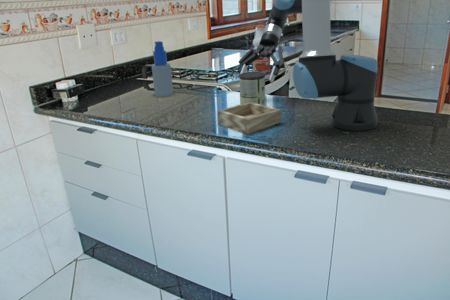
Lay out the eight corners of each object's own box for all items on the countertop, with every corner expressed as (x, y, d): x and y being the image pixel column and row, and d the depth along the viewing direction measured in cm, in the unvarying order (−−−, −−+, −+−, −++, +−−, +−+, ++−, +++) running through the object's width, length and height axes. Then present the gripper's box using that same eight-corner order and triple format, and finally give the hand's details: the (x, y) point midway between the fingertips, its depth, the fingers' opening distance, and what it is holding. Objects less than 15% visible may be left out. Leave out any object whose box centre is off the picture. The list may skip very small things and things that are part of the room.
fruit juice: (266, 76, 213) (265, 24, 203) (272, 79, 205) (273, 25, 194) (250, 77, 211) (249, 25, 200) (256, 80, 202) (256, 26, 192)
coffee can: (240, 105, 158) (239, 72, 153) (265, 105, 157) (265, 71, 152) (239, 112, 149) (238, 77, 143) (265, 112, 148) (265, 76, 142)
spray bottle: (157, 97, 178) (151, 43, 168) (152, 93, 186) (146, 41, 176) (175, 94, 181) (170, 41, 172) (170, 91, 189) (164, 39, 179)
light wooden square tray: (280, 123, 134) (281, 109, 132) (248, 134, 125) (247, 120, 123) (250, 114, 146) (250, 101, 144) (218, 124, 137) (217, 110, 135)
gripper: (300, 44, 156) (286, 87, 150) (247, 42, 168) (232, 83, 162) (296, 32, 150) (281, 77, 144) (241, 31, 162) (225, 73, 156)
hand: (255, 80), depth 153 cm, fingers open, 13 cm apart
